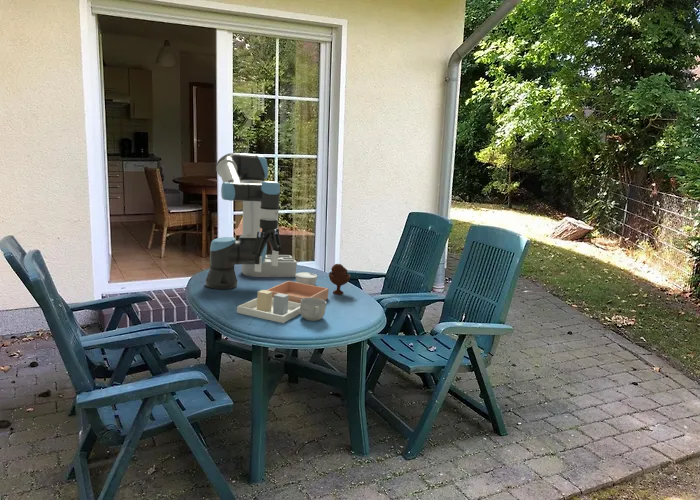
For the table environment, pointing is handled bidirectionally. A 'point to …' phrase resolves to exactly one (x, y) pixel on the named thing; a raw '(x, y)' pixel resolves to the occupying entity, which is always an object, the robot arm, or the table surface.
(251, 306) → the parts tray
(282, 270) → the grey compartment organizer
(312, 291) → the orange square tray
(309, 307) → the teacup
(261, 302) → the tall cardboard carton
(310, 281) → the ramekin
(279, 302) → the pale grey box block
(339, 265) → the ice cream bowl
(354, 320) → the table surface
